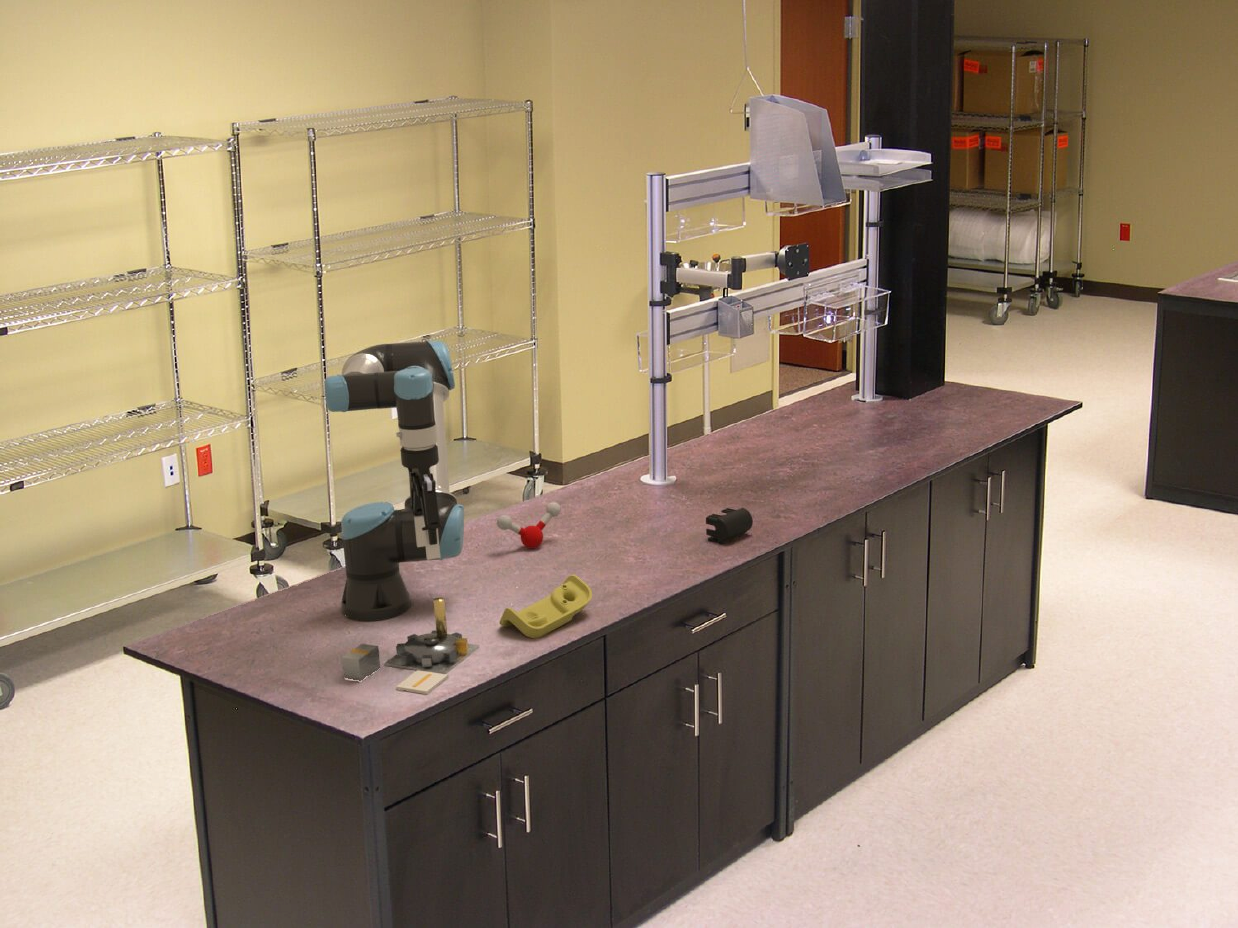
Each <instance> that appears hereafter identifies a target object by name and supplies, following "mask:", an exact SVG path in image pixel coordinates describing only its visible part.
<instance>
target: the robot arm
mask: <svg viewBox="0 0 1238 928" xmlns="http://www.w3.org/2000/svg"><path fill="white" fill-rule="evenodd" d="M449 352H450V351H449V347H448V345H447V344H446V342H444V341H441V340H428V339H427V340H424V341H412V342H395V343H382V344H376V345H372V346H369V347H365V348H364V349H361V350H359V351H357V352H355V353H354V354H352V355H351V356H350V357H348V358H347V359H346V360H345V362H344V364H343V367H341V368H342V369H341V374H336V375H329V376H327V377H325V379H324V385H323V386H324V396H325V397H324V399H325V405H326V409H327V410H328V411H329V412H331V413H337V412H340V413H346V412H356V411H367V410H382V409H393V408H396V413H397V414H396V416H397V422H398V423H397V424H398V425H397V428H398V432H396V433H395V434H396V437H397V438H398V439H399V445H400V446H401V448H400V459H401V460H400V461H401V465H402V466H403V467H404V468H406V469H407V471H408V475H409V476H408V479H409V496H407V497H406V499H405V500H404V502H403V503H404V508H403V509H395V507H394V505H393V504H392V503H391V502H383V501H378V502H377V501H375V502H371V503H366V504H362V505H360V506H358V507H357V506H356V507H354V508H353V509H351V510H349V511H347V512H346V513H345V514H344V515H343V516H342V518H341V522H340V524H341V535H340V536H341V537H340V538H341V540H342V547H343V553H344V554H343V555H344V566H345V567H344V568H345V574H346V581H345V584H344V588H343V593H342V598H341V603H340V604H341V605H340V606H341V613H342V612H343V613H342V614H344V615H346V616H347V617H346V616H345V617H346V618H348V617H349V618H348V619H350V618H352V619H351V620H354V619H357V620H356V621H380V620H386V619H390V618H394V617H396V616H399V615H402V614H403V613H405V612H407V611H408V610H409V609H410V608H411V604H412V602H411V595H410V592H409V590H408V589H407V586H406V584H405V581H404V579H403V577H402V574H401V571H400V563H411V562H422V561H437V560H439V561H442V560H445V559H447V560H448V559H453V558H456V557H458V556H460V555H461V554H462V550H463V546H464V537H465V536H464V533H465V508H464V505H462V504H460V503H458V499H457V497H456V496H455V494H453V493H451V492H450V483H449V482H450V481H449V468H448V467H449V466H448V453H447V452H448V451H447V439H446V438H447V437H446V436H447V435H446V424H445V423H446V422H445V410H444V409H445V408H444V403H445V401H447V400H448V399H449V396H450V391H451V390H453V389H455V387H456V383H455V376H454V371H453V366H452V361H451V356H450V353H449ZM344 615H343V616H344Z"/></svg>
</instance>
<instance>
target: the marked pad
mask: <svg viewBox="0 0 1238 928" xmlns="http://www.w3.org/2000/svg"><path fill="white" fill-rule="evenodd" d="M447 679H449V674H448V673H446V674H440V673H433V672H427V671H420V670H415V672H413V673H412V674H411V675H409V676H408V677H407V678H405V679H404V680H402V682H400V683H399V684H397V685H396V686H395V690H397V689H398V690H399V691H403V690H406V691H405V692H411V693H417V694H424V695H428V694H430V693H431V692H432V691H433V690H434V689H436V688H437V687H439V686H440V685H441V684H442V683H443V682H445V681H446V680H447ZM398 690H397V691H398Z"/></svg>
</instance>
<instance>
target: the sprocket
mask: <svg viewBox="0 0 1238 928" xmlns="http://www.w3.org/2000/svg"><path fill="white" fill-rule="evenodd" d="M433 610H434V620H435V621H434V622H435V630H431V632H430V633H425V634H421V635H420V634H419V635H418V634H416V633H412V634H411V635H408V636H406V638H407V641H406V642H405V643H402V642H399V643H397V644H396V646H395V650H396V655H400V656H401V662H402V663H404V664H409V663H411V662H414V663H420V664H422V666H423V667H432V664H433V663H439V662H444V661H447V662H449V663H451V662H453V661H456V660H457V654H458V653H467V651H468V644H469V643H468V637H463V634H462V633H459V632H454V633H451V634H450V633H448V625H447V615H446V605H445V598H444V597H435V598H434V599H433Z"/></svg>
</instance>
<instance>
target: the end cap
mask: <svg viewBox="0 0 1238 928" xmlns="http://www.w3.org/2000/svg"><path fill="white" fill-rule="evenodd" d="M720 513H722V514H716V513H712V514H709V515H707V516H706V518H705V524H706V525H709V526H712V527H714V528H715V529H710V528H706V529H705V532H706V535H707V536H709V537H707V541H708V542H712V543H716V544H719V545H721V544H723V543H727V542H728V541H731V540H733V539H735V538H737V537H740V536H743V535H745V534H746V533H747V532H748V531H751V529H752V527H753V524H754V523H753V521H754V519H753V517H752V514H751V512H750V511H749V510H748V509H747V508H745V507H741V508H738V509H734V508H730V507H727V508H724V509H721V510H720Z"/></svg>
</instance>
